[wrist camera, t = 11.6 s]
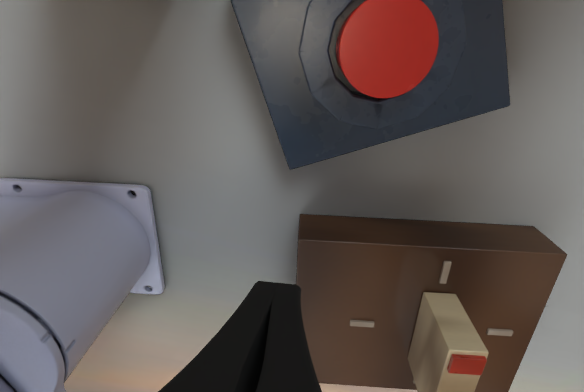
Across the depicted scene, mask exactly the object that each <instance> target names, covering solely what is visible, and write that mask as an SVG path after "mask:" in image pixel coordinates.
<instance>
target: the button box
mask: <svg viewBox="0 0 584 392" xmlns="http://www.w3.org/2000/svg"><path fill="white" fill-rule="evenodd" d="M364 1H366V0H231V3H232V6H233V9H234V12H235V14H236V17H237V20H238V23H239V26H240V29H241V32H242V35H243V37H244V40H245V43H246V46H247V49H248V52H249V55H250V58H251V60H252V63H253V66H254V69H255V72H256V75H257V78H258V80H259V83H260V86H261V89H262V92H263V95H264V98H265V101H266V103H267V106H268V109H269V112H270V115H271V118H272V121H273V123H274V126H275V129H276V132H277V135H278V138H279V141H280V144H281V146H282V149H283V152H284V155H285V158H286V161H287V164H288V166H289V169H290V170H291V169H295V168H298V167H302V166H305V165H309V164H312V163H315V162H319V161H322V160H326V159H329V158H333V157H336V156H339V155H343V154H346V153H350V152H353V151H356V150H360V149H363V148H367V147H370V146H374V145H377V144H380V143H384V142H387V141H391V140H394V139H398V138H401V137H404V136H408V135H411V134H415V133H418V132H422V131H425V130H428V129H432V128H435V127H439V126H442V125H446V124H449V123H452V122H456V121H459V120H463V119H466V118H469V117H473V116H476V115H480V114H483V113H487V112H490V111H493V110H497V109H500V108H504V107H507V106H509V105H510V96H509V83H508V69H507V56H506V43H505V30H504V16H503V3H502V0H421V1H422V2H423V3H424V4H425V5H426V6H427V7H428V8H429V9H430V11H431V12H432V14H433V16H434V18H435V21H436V23H437V27H438V34H439V45H438V51H437V55H436V58H435V61H434V63H433V66H432V67H431V69H430V71H429V73H428V74H427V75H426V77H425V78H424V79H423V80H422V81H421V82H420V83H419V84H418V85H417V86H416V87H415V88H413V89H412V90H410V91H408V92H407V93H405V94H402V95H400V96H397V97H393V98H374V97H370V96H367V95H365V94H363V93H361V92H360V91H358V90H357V89H355V88H354V87H353V86H352V85H351V84H350V82H349V81H348V80H347V79H346V78H345V77H344V75H343V74H342V72H341V70H340V68H339V65H338V62H337V57H336V43H337V37H338V34H339V31H340V29H341V26H342V24H343V23H344V21H345V19H346V18H347V17H348V15H349V14H350V13H351V12H352V11H353V10H354V9H355V8H356V7H358V6H359V5H360V4H362V3H363V2H364Z"/></svg>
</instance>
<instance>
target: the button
mask: <svg viewBox="0 0 584 392" xmlns="http://www.w3.org/2000/svg"><path fill="white" fill-rule="evenodd" d="M438 45H439V34H438V27H437V23H436V21H435V18H434V16H433V14H432V12H431V11H430V9H429V8H428V7H427V6H426V5H425V4H424V3H423V2H422V1H421V0H366V1H364V2H363V3H362V4H360V5H359V6H358V7H356V8H355V9H354V10H353V11H352V12H351V13H350V14H349V15H348V17H347V18H346V19H345V21H344V23H343V24H342V26H341V29H340V31H339V34H338V37H337V43H336V57H337V62H338V65H339V68H340V70H341V72H342V74H343V75H344V77H345V78H346V79H347V80H348V81H349V82H350V84H351V85H352V86H353V87H354V88H355V89H357V90H358V91H360V92H361V93H363V94H365V95H367V96H370V97H374V98H393V97H397V96H400V95H402V94H405V93H407V92H408V91H410V90H412V89H413V88H415V87H416V86H417V85H418V84H419V83H420V82H421V81H422V80H423V79H424V78H425V77H426V75H427V74H428V73H429V71H430V69H431V67H432V66H433V63H434V61H435V58H436V55H437V51H438Z"/></svg>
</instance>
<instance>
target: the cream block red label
mask: <svg viewBox="0 0 584 392" xmlns="http://www.w3.org/2000/svg"><path fill="white" fill-rule="evenodd" d="M488 354H489V353H488V350H487V349H486V347H485V345H484V343H483V342H482V340H481V338H480V336H479V334H478V333H477V331H476V329H475V327H474V326H473V324H472V322H471V320H470V319H469V317H468V315H467V313H466V311H465V310H464V308H463V306H462V304H461V303H460V301H459V299H458V297H457V296H456V294H449V293H432V292H423V296H422V300H421V305H420V309H419V313H418V317H417V321H416V325H415V330H414V334H413V338H412V342H411V346H410V351H409V355H408V361H409V364H410V368H411V371H412V374H413V378H414V381H415V384H416V388H417V391H418V392H474V391H475V389H476V386H477V383H478V380H479V378H480V375H482V372H483V370H484V367H485V364H486V362H487V356H488Z"/></svg>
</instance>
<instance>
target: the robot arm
mask: <svg viewBox="0 0 584 392" xmlns="http://www.w3.org/2000/svg"><path fill="white" fill-rule="evenodd" d="M18 185H19V186H20V187H21V189H22V190H21V189H20V188H19V187H18ZM131 190H132V191H134V192H135V193H136V196H134V195H133V194H131ZM148 286H150V287H152V288H149V287H148ZM164 289H165V283H164V277H163V270H162V263H161V257H160V250H159V243H158V237H157V230H156V223H155V217H154V210H153V203H152V197H151V192H150V190H149V188H148V187H146V186H144V185H134V184H114V183H95V182H75V181H55V180H35V179H15V178H0V392H66V390H65V388H64V382H65V381H66V380H67V378H68V377H69V375H70V374H71V373H72V371H73V370H74V368H75V367H76V366H77V364H78V363H79V361H80V360H81V359H82V357H83V356H84V355H85V353H86V352H87V350H88V349H89V348H90V346H91V345H92V343H93V342H94V341H95V339H96V338H97V337H98V335H99V334H100V332H101V331H102V330H103V328H104V327H105V325H106V324H107V323H108V321H109V320H110V319H111V317H112V316H113V314H114V313H115V312H116V310H117V309H118V307H119V306H120V305H121V303H122V302H123V300H124V299H125V298H126V296H127V295H128V294H129V293H140V294H156V295H157V294H161V293H162V292H163V291H164ZM158 392H322V391H321V388H320V385H319V382H318V379H317V376H316V373H315V369H314V366H313V362H312V359H311V355H310V352H309V348H308V343H307V339H306V334H305V330H304V325H303V319H302V311H301V288H300V287H299V286H298V285H292V284H283V283H273V282H264V281H258V282H257V283H255V285H254V286H253V288H252V289H251V291H250V292H249V293H248V295H247V296H246V298H245V299H244V300H243V302H242V303H241V305H240V306H239V307H238V308H237V310H236V311H235V312H234V314H233V315H232V316H231V317H230V318H229V320H228V321H227V322H226V323H225V325H224V326H223V327H222V328H221V329H220V331H219V332H218V333H217V334H216V335H215V336H214V337H213V338H212V339H211V341H210V342H209V343H208V344H207V345H206V346H205V347H204V348H203V349H202V350H201V351H200V353H199V354H198V355H197V356H196V357H195V358H194V359H193V360H192V361H191V362H190V363H189V364H188V365H187V366H186V367H185V368H184V369H183V370H182V371H181V372H179V373H178V374H177V375H176V376H175V377H174V378H173V379H172V380H171V381H170V382H169V383H168V384H166V385H165V386H164V387H163V388H162V389H161V390H160V391H158Z"/></svg>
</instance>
